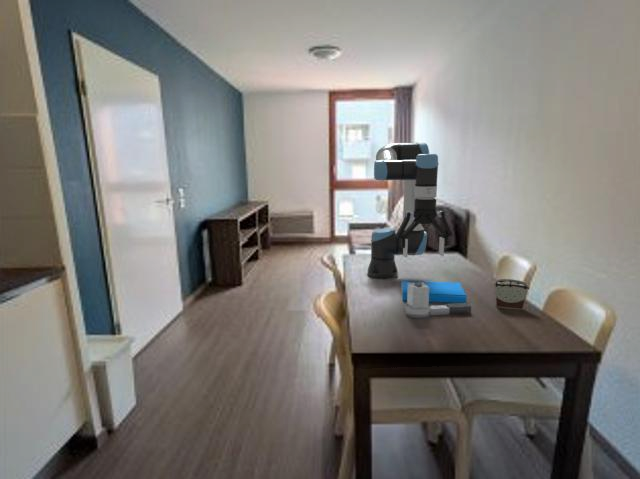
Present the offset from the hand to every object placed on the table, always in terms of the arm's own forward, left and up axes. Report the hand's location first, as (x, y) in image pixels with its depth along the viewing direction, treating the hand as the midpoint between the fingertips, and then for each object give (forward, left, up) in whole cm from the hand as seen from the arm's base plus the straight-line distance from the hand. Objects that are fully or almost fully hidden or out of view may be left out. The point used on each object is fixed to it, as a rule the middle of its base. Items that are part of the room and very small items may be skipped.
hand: (423, 255), depth 141 cm
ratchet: (+3, +5, -21) cm, 22 cm away
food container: (-1, +36, -22) cm, 42 cm away
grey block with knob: (+3, -2, -19) cm, 19 cm away
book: (-17, +11, -22) cm, 30 cm away
